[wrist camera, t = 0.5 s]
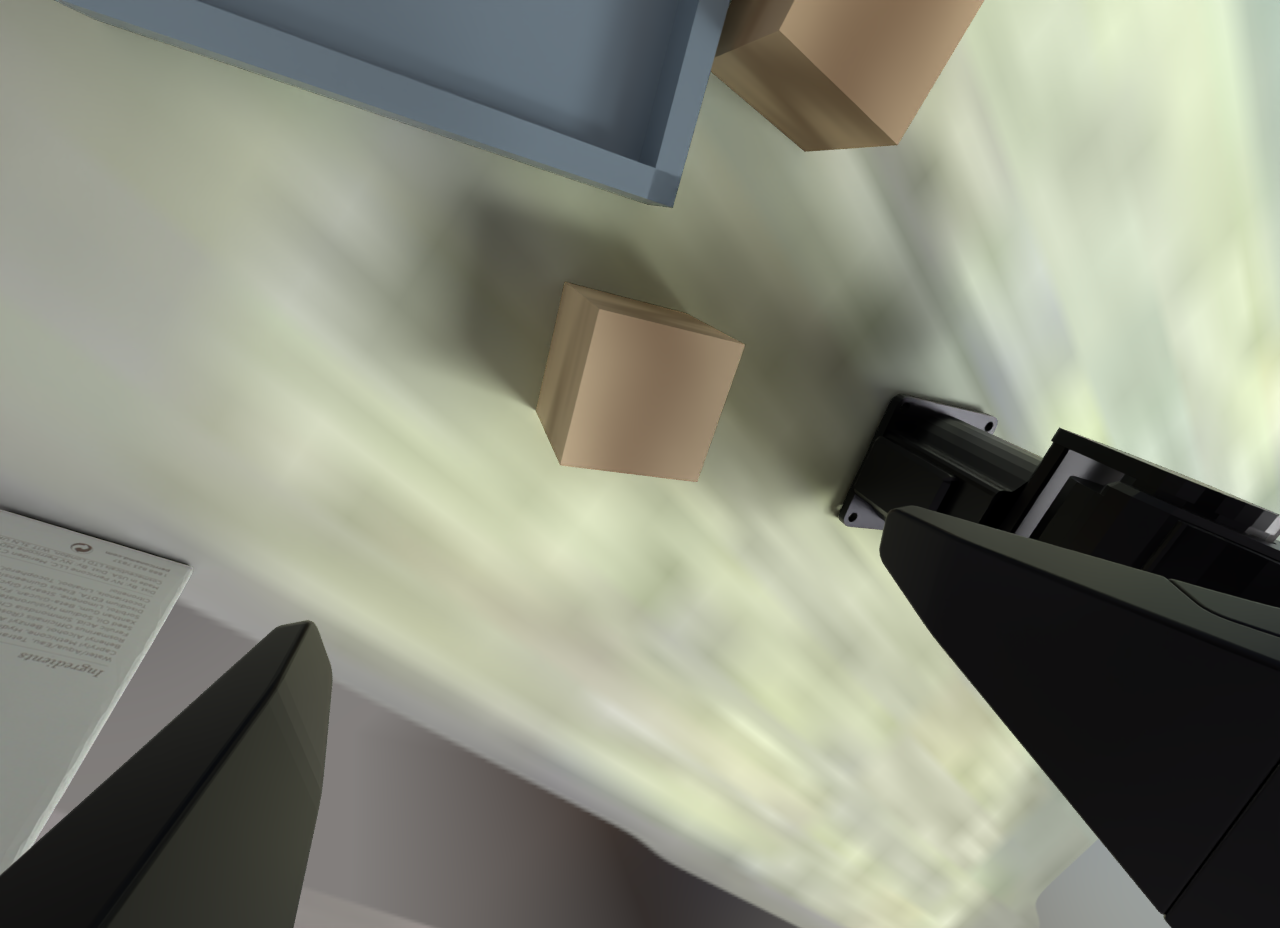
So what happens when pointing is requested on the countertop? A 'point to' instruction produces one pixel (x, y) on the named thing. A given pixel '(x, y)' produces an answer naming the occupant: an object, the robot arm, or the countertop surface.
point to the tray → (480, 70)
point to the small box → (65, 657)
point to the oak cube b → (839, 64)
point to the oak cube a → (633, 385)
